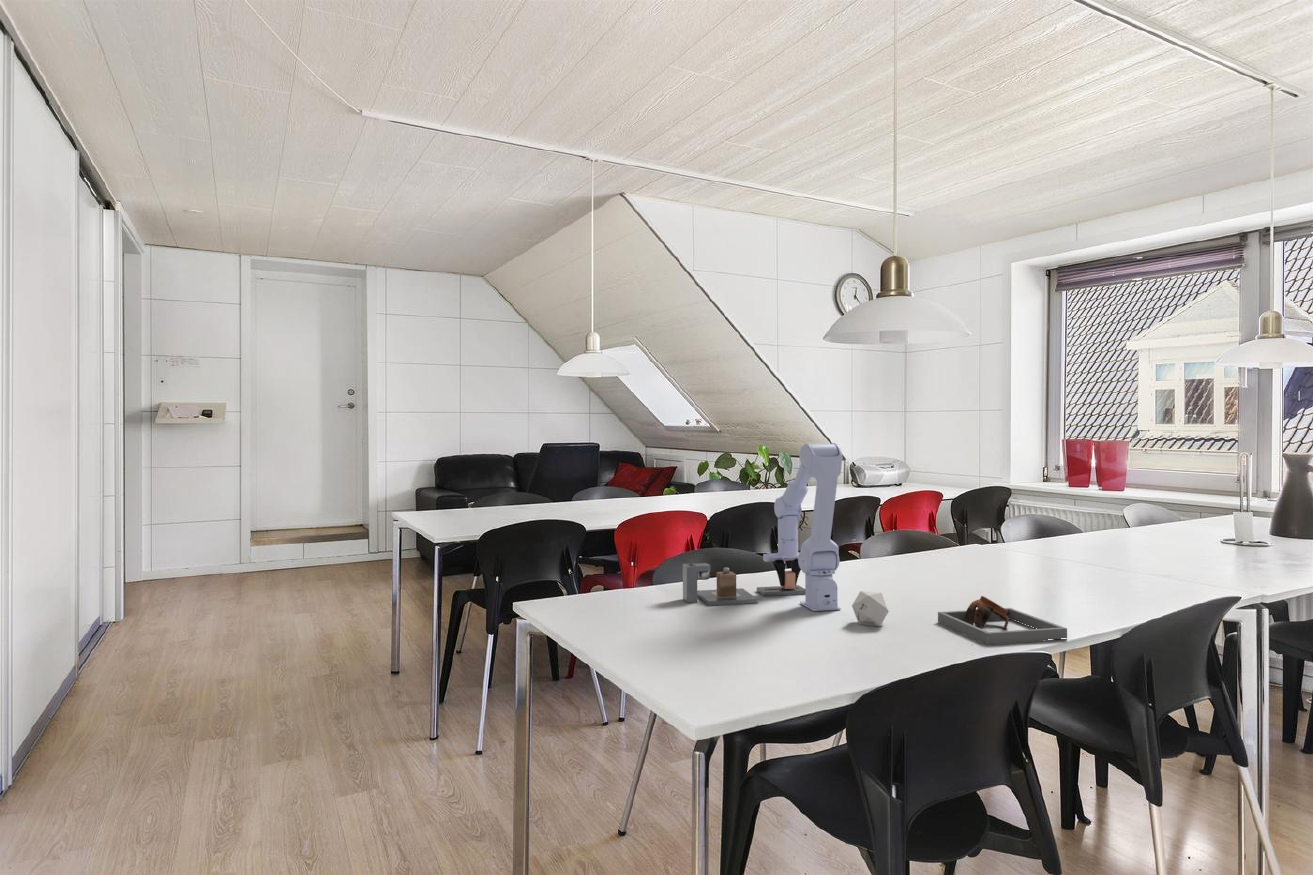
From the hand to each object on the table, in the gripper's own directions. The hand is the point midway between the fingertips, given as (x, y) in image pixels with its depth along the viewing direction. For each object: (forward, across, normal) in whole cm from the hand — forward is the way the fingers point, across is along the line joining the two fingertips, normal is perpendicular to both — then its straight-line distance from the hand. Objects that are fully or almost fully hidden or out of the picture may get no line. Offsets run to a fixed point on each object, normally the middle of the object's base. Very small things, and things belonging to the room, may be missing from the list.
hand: (788, 585), depth 223 cm
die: (+2, -7, +38) cm, 39 cm away
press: (+2, +23, +4) cm, 23 cm away
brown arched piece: (+2, -32, +47) cm, 57 cm away
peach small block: (+1, 0, 0) cm, 1 cm away
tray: (+2, -34, +50) cm, 61 cm away
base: (+2, +2, 0) cm, 3 cm away
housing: (+1, +20, +4) cm, 20 cm away
